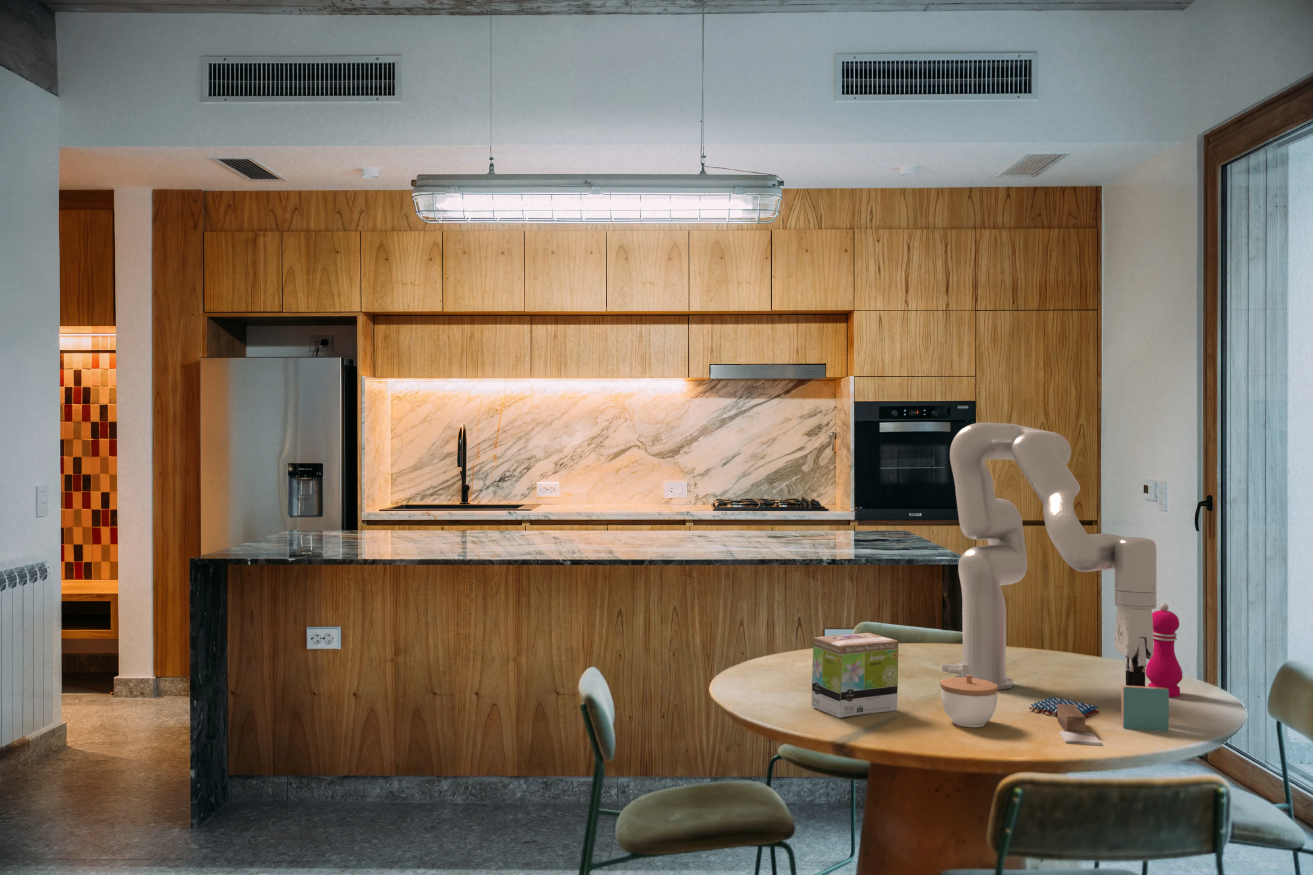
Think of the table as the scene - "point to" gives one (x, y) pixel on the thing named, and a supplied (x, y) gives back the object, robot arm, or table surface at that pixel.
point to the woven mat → (1051, 703)
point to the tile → (1145, 708)
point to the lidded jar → (969, 700)
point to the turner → (1074, 726)
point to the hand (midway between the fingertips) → (1135, 690)
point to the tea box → (854, 674)
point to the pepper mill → (1164, 652)
